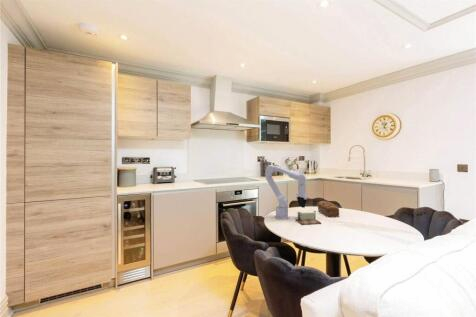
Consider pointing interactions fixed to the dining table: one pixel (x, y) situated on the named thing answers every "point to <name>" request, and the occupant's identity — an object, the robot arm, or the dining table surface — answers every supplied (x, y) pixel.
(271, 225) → the dining table surface
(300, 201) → the robot arm
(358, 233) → the dining table surface
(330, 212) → the bread
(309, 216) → the gate leaf
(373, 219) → the dining table surface
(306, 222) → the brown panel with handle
